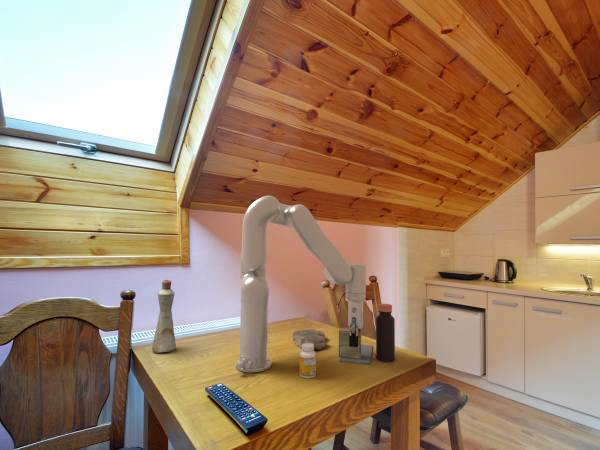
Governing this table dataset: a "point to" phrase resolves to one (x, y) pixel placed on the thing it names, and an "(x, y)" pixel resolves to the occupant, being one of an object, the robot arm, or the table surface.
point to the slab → (344, 347)
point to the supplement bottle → (307, 361)
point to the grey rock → (309, 338)
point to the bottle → (165, 321)
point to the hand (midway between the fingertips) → (354, 342)
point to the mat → (365, 356)
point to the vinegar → (385, 334)
